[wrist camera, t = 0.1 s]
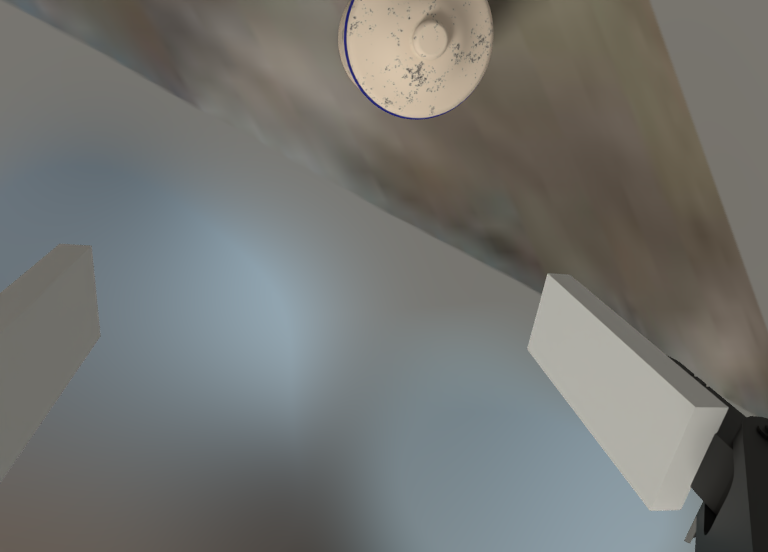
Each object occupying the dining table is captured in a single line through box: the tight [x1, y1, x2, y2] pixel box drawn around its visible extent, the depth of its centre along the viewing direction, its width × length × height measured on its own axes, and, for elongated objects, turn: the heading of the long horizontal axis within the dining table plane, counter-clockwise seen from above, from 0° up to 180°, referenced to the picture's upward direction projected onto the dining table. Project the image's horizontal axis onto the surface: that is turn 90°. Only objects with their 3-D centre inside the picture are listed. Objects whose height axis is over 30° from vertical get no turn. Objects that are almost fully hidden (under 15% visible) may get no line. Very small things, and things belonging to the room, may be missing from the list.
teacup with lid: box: [338, 0, 494, 119], centre depth 33 cm, size 12×9×12 cm
